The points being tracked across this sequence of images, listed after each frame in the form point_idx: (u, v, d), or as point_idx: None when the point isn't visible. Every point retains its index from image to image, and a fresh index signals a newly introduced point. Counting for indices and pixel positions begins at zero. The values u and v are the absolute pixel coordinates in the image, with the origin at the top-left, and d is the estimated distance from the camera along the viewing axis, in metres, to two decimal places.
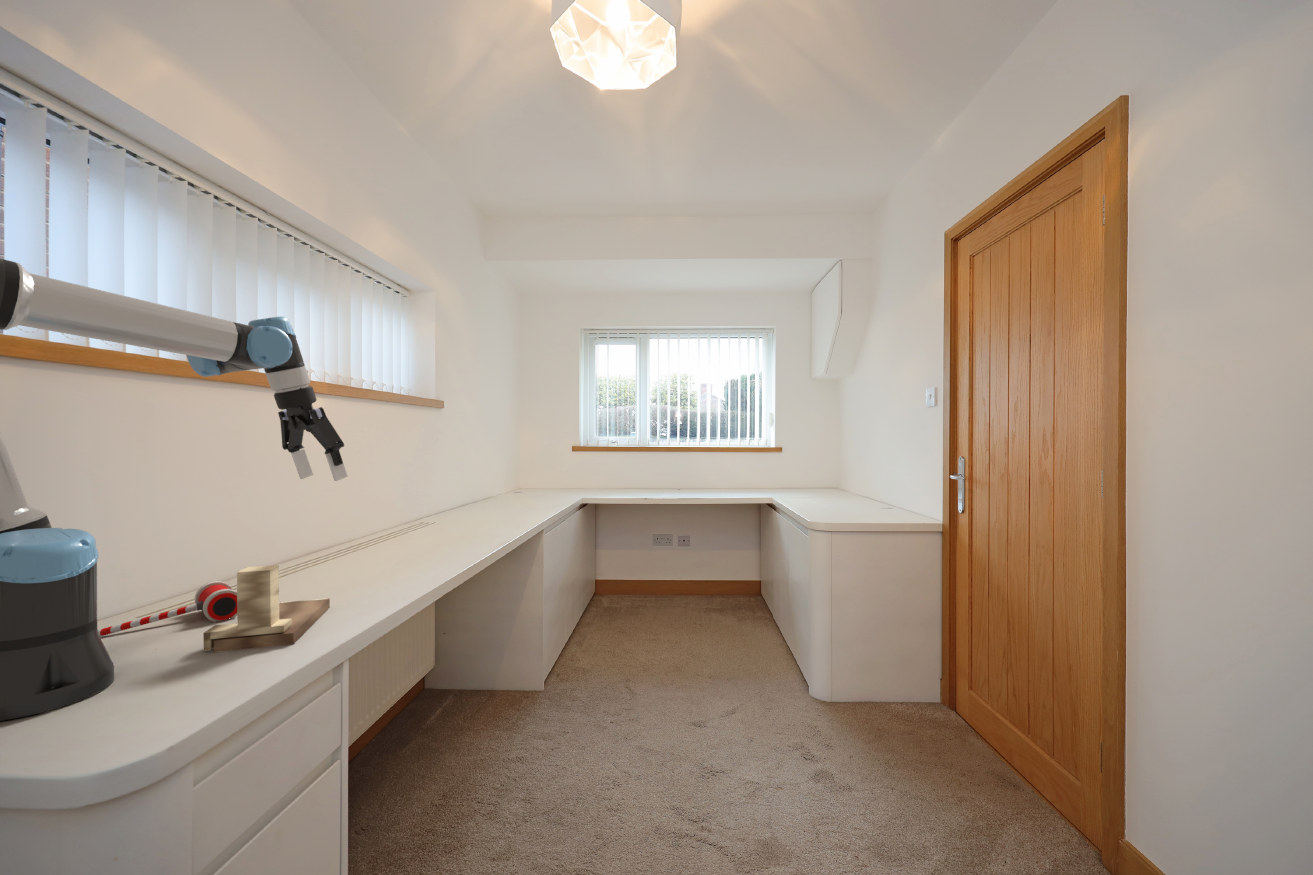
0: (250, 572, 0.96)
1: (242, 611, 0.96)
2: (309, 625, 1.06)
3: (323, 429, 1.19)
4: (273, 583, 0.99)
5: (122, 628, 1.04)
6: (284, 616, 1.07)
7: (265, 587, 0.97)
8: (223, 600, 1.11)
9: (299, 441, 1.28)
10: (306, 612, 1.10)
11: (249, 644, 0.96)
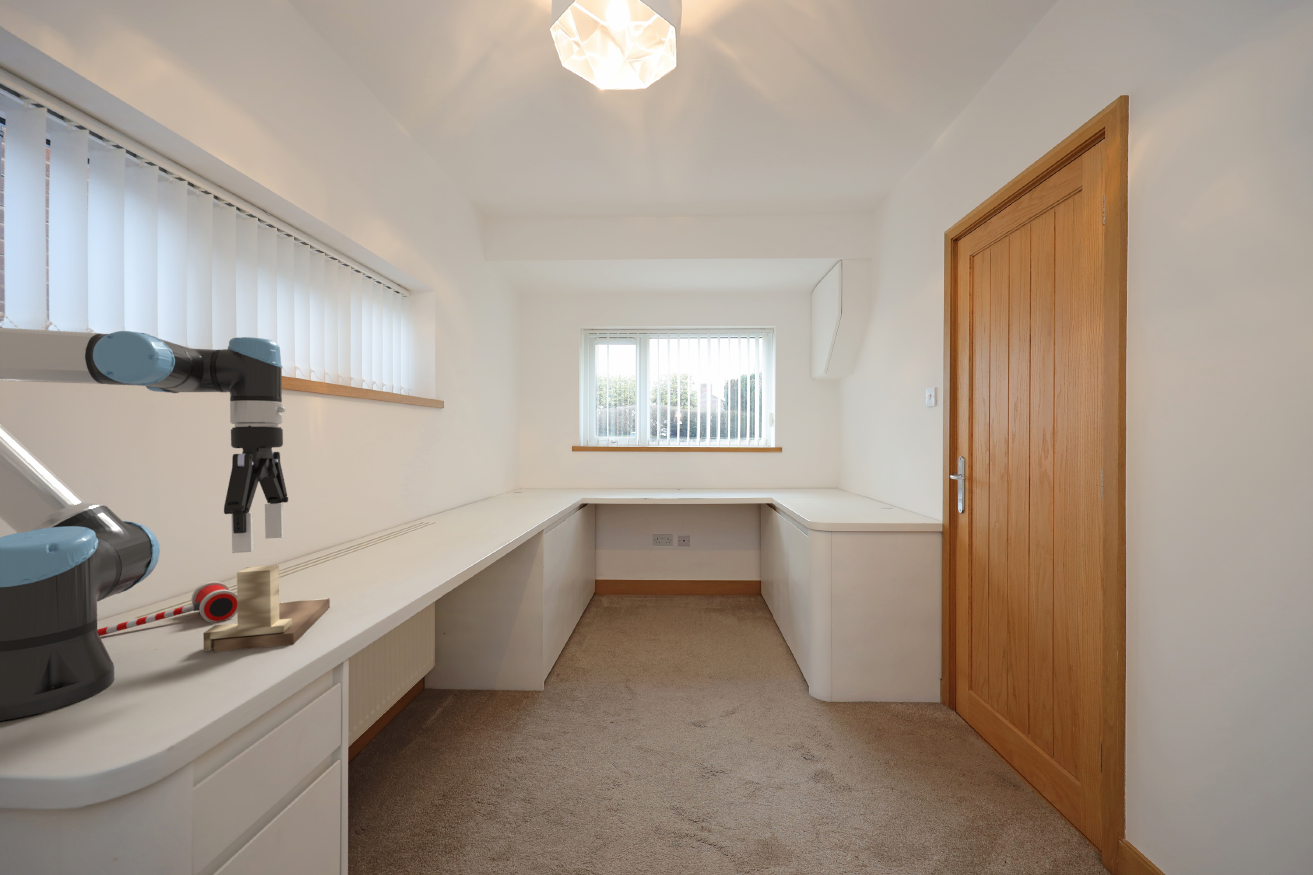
0: (250, 572, 0.96)
1: (242, 611, 0.96)
2: (309, 625, 1.06)
3: (230, 481, 0.90)
4: (273, 583, 0.99)
5: (118, 629, 1.04)
6: (284, 616, 1.07)
7: (265, 587, 0.97)
8: (219, 601, 1.11)
9: (274, 492, 1.04)
10: (306, 612, 1.10)
11: (249, 644, 0.96)
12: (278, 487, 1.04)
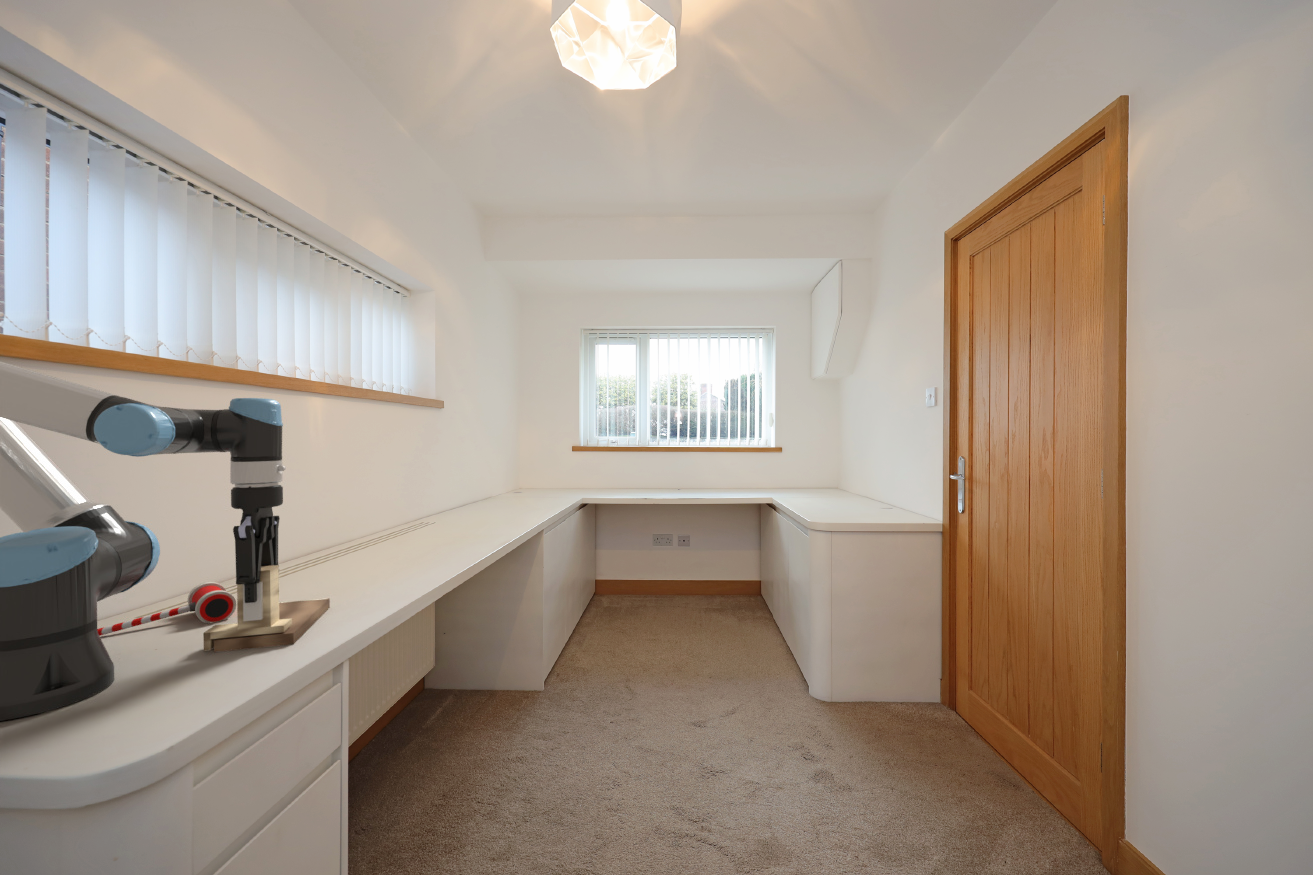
0: None
1: (242, 611, 0.96)
2: (309, 625, 1.06)
3: (237, 555, 0.92)
4: (273, 583, 0.99)
5: (113, 629, 1.04)
6: (284, 616, 1.07)
7: (265, 587, 0.97)
8: (215, 602, 1.11)
9: (266, 559, 1.01)
10: (306, 612, 1.10)
11: (249, 644, 0.96)
12: (271, 554, 1.01)
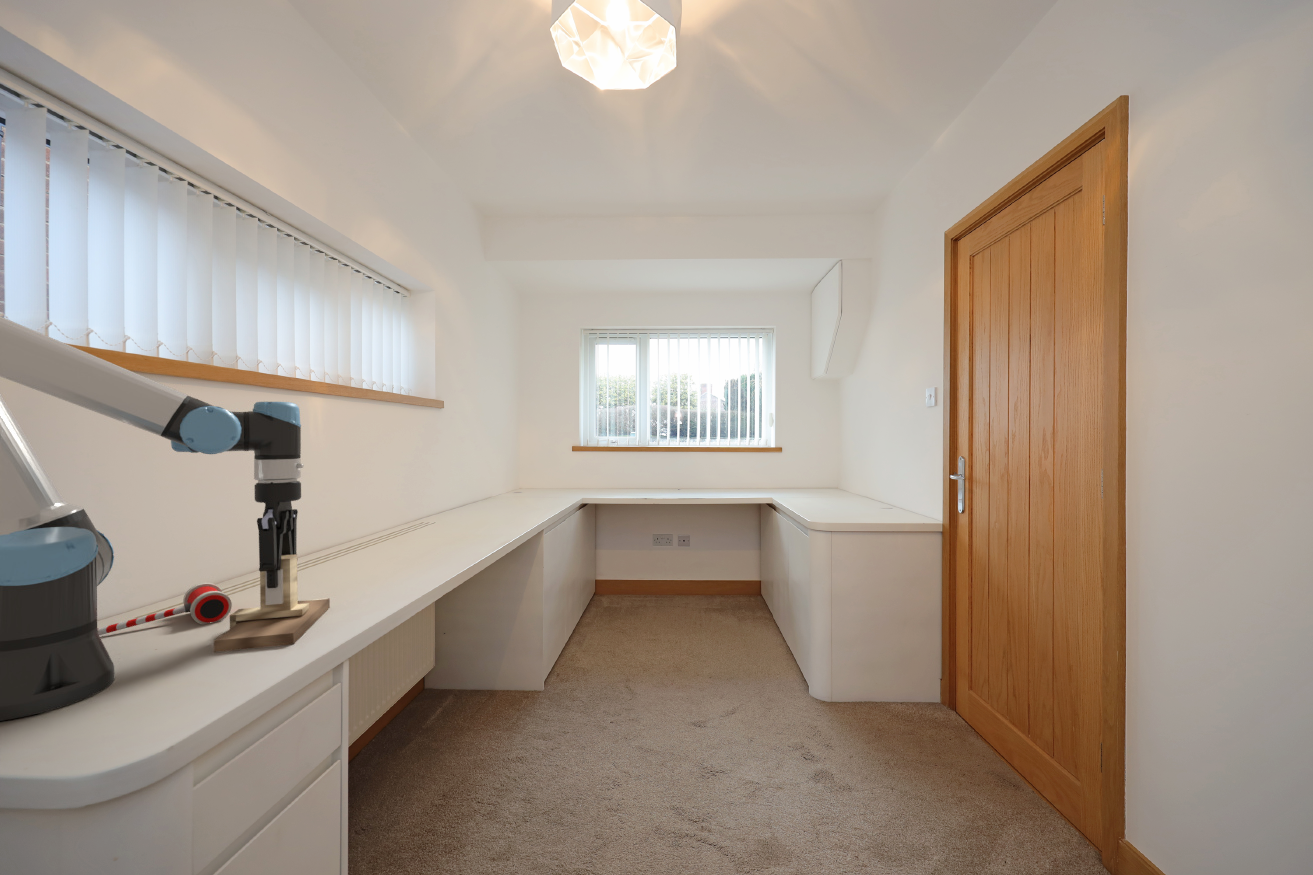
0: None
1: None
2: (309, 625, 1.06)
3: (260, 544, 1.02)
4: (292, 571, 1.08)
5: (108, 630, 1.03)
6: None
7: (285, 574, 1.06)
8: (210, 602, 1.10)
9: (286, 549, 1.10)
10: (306, 612, 1.10)
11: (249, 644, 0.96)
12: (291, 544, 1.11)
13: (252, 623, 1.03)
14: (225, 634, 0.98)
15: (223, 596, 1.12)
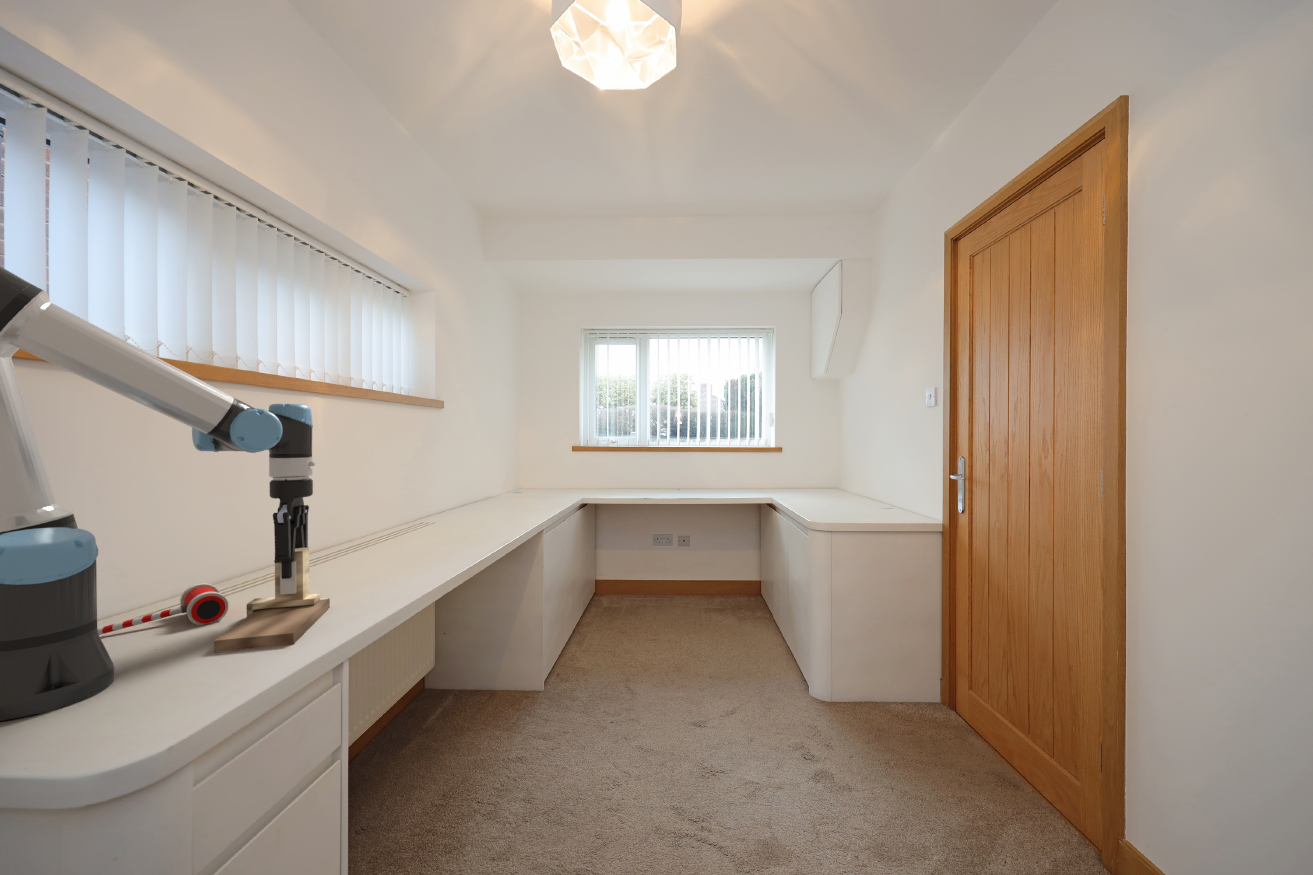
0: None
1: (279, 586, 1.12)
2: (309, 625, 1.06)
3: (275, 537, 1.09)
4: (305, 562, 1.15)
5: (104, 631, 1.03)
6: (284, 616, 1.07)
7: (298, 565, 1.13)
8: (207, 603, 1.10)
9: (298, 542, 1.17)
10: (306, 612, 1.10)
11: (249, 644, 0.96)
12: (303, 538, 1.18)
13: (252, 623, 1.03)
14: (225, 634, 0.98)
15: (220, 597, 1.11)
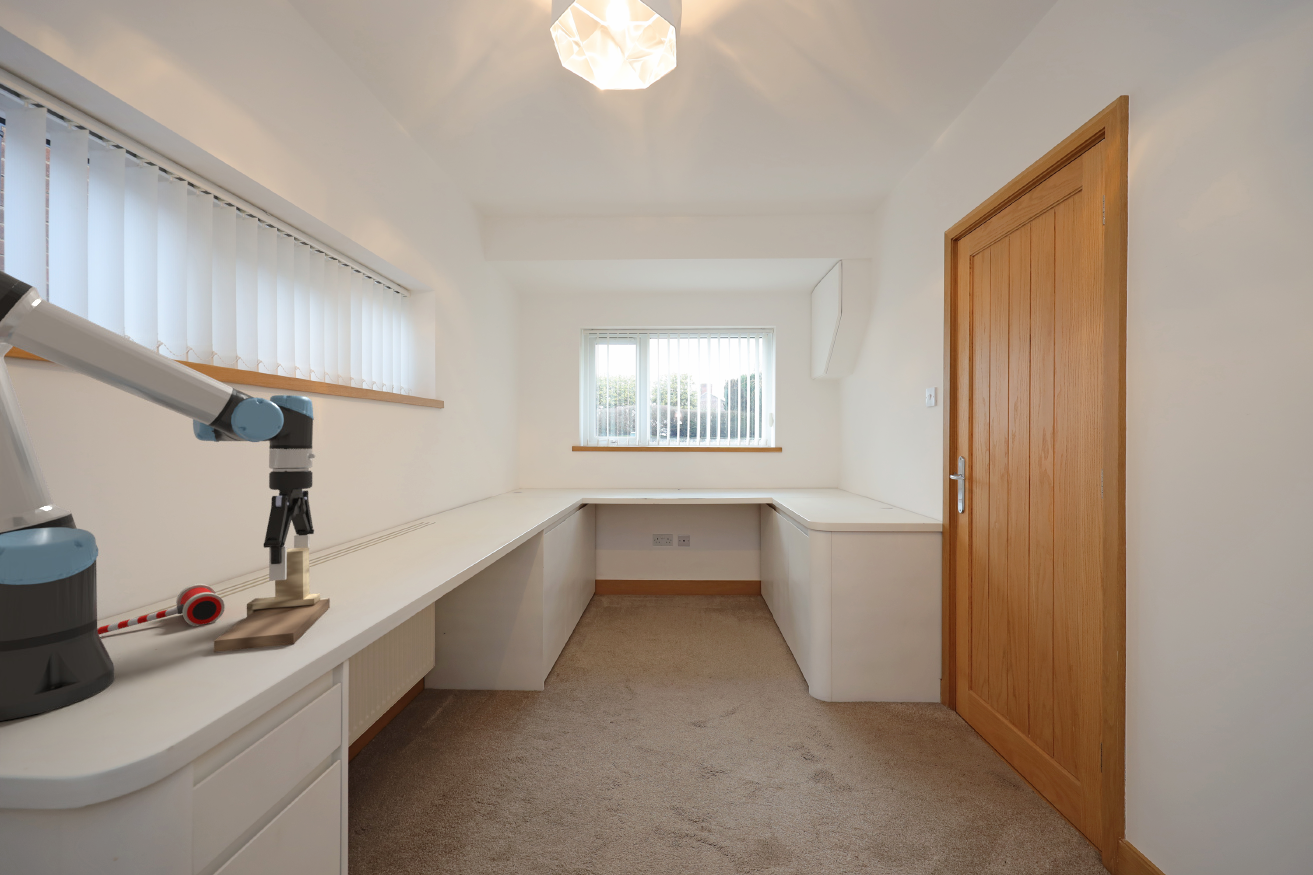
0: None
1: (279, 586, 1.12)
2: (309, 625, 1.06)
3: (270, 520, 1.06)
4: (305, 562, 1.15)
5: (99, 632, 1.02)
6: (284, 616, 1.07)
7: (298, 565, 1.13)
8: (203, 604, 1.09)
9: (302, 526, 1.20)
10: (306, 612, 1.10)
11: (249, 644, 0.96)
12: (306, 521, 1.20)
13: (252, 623, 1.03)
14: (225, 634, 0.98)
15: (216, 597, 1.11)
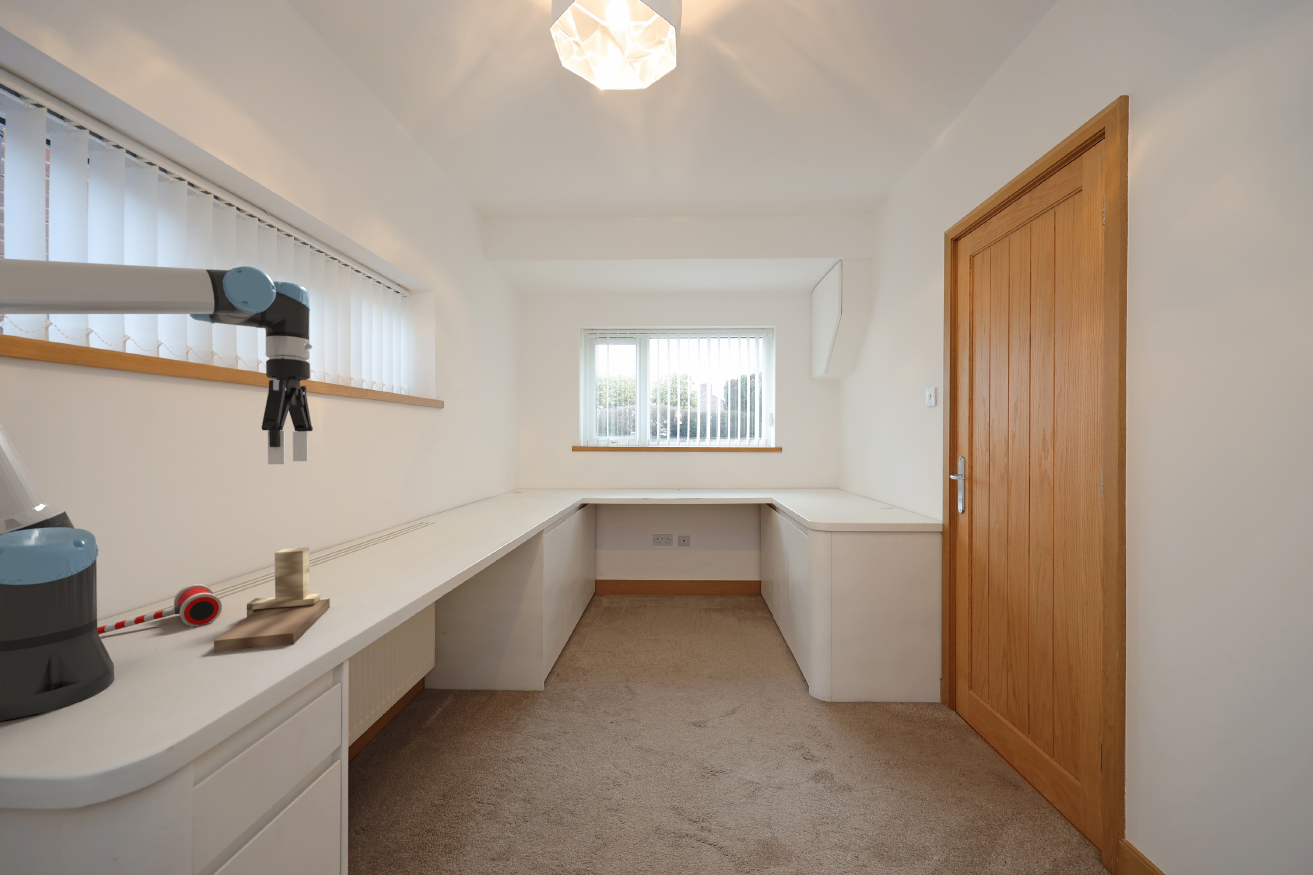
0: (286, 552, 1.13)
1: (279, 586, 1.12)
2: (309, 625, 1.06)
3: (267, 402, 1.06)
4: (305, 562, 1.15)
5: None
6: (284, 616, 1.07)
7: (298, 565, 1.13)
8: (200, 604, 1.09)
9: (301, 421, 1.19)
10: (306, 612, 1.10)
11: (249, 644, 0.96)
12: (304, 416, 1.19)
13: (252, 623, 1.03)
14: (225, 634, 0.98)
15: (213, 598, 1.10)
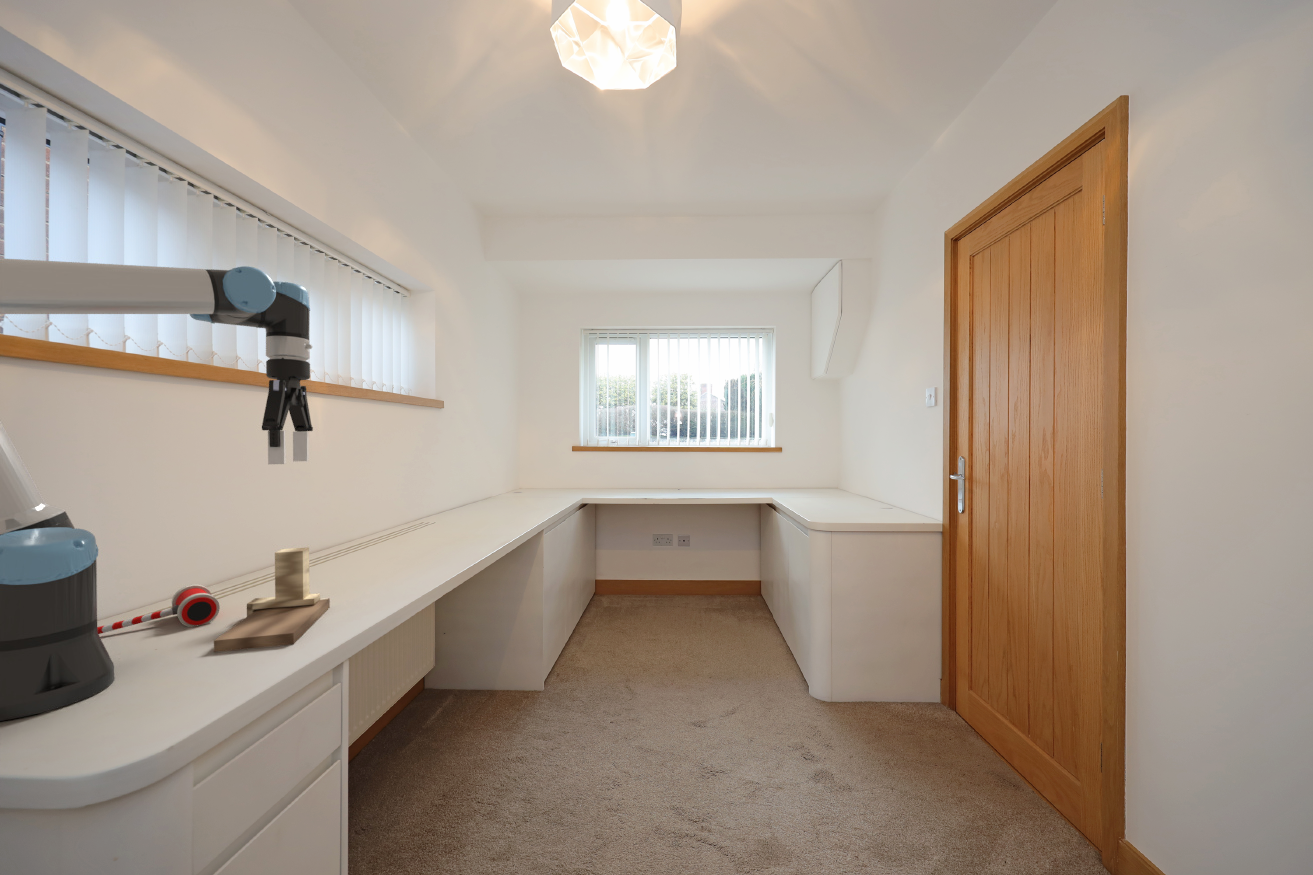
0: (286, 552, 1.13)
1: (279, 586, 1.12)
2: (309, 625, 1.06)
3: (267, 402, 1.06)
4: (305, 562, 1.15)
5: None
6: (284, 616, 1.07)
7: (298, 565, 1.13)
8: (198, 605, 1.08)
9: (301, 421, 1.19)
10: (306, 612, 1.10)
11: (249, 644, 0.96)
12: (304, 416, 1.19)
13: (252, 623, 1.03)
14: (225, 634, 0.98)
15: (211, 598, 1.10)
